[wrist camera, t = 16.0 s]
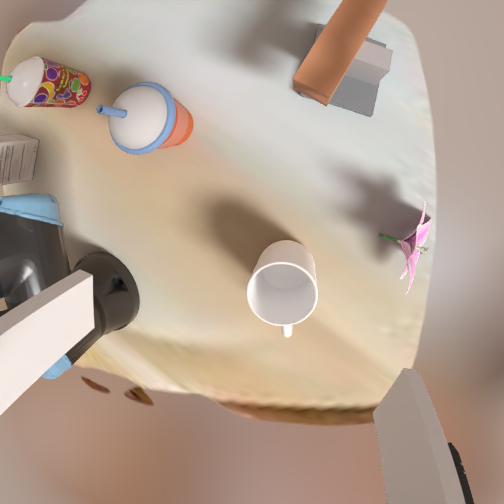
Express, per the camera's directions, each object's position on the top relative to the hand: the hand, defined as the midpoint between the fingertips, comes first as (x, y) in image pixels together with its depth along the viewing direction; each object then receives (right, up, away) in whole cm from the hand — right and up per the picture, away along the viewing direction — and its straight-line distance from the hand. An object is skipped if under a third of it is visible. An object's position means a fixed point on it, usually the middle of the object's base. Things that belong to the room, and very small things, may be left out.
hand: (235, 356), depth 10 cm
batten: (+11, +27, +14) cm, 33 cm away
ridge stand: (+13, +29, +22) cm, 39 cm away
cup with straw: (-11, +23, +29) cm, 38 cm away
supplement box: (-48, +25, +35) cm, 64 cm away
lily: (+23, +6, +28) cm, 37 cm away
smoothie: (-31, +33, +29) cm, 54 cm away
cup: (+6, 0, +33) cm, 33 cm away
